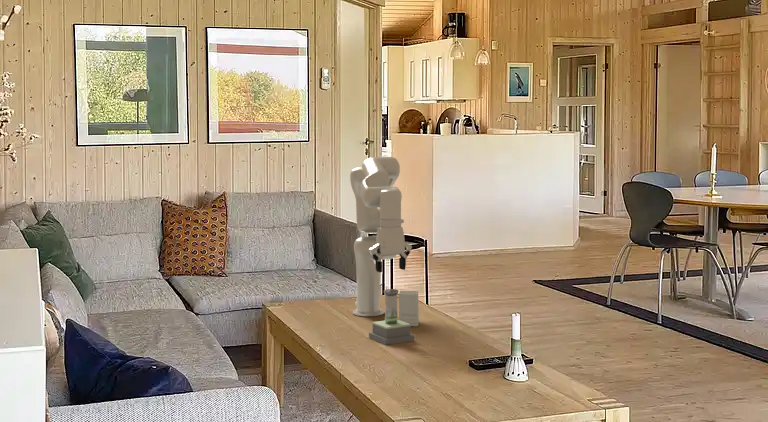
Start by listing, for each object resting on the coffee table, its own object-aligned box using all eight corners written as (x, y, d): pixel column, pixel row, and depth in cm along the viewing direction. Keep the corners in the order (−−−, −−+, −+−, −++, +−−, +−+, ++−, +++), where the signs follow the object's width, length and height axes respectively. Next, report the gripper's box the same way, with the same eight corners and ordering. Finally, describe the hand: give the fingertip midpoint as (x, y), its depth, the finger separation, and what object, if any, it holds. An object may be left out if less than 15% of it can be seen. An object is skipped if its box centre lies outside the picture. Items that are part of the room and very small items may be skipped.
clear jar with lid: (381, 322, 354) (381, 290, 353) (393, 320, 357) (393, 288, 356) (388, 325, 350) (388, 292, 349) (401, 323, 353) (401, 290, 351)
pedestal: (368, 338, 356) (368, 321, 356) (397, 333, 362) (396, 318, 362) (385, 344, 346) (385, 328, 345) (414, 340, 352) (414, 324, 351)
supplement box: (419, 322, 381) (419, 290, 380) (417, 326, 374) (417, 294, 372) (400, 322, 382) (400, 290, 380) (398, 326, 374) (398, 294, 373)
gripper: (405, 220, 357) (405, 266, 359) (364, 224, 348) (364, 271, 350) (416, 223, 351) (416, 269, 353) (374, 226, 342) (375, 274, 344)
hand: (390, 270), depth 352 cm, fingers open, 9 cm apart
